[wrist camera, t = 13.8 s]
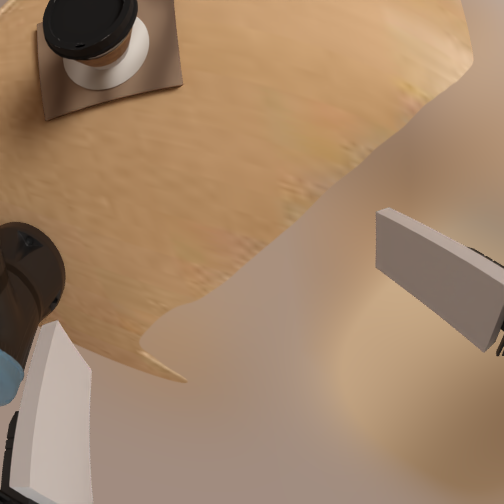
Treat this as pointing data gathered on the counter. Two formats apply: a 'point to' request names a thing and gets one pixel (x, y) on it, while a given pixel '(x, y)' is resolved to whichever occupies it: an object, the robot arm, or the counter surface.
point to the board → (120, 76)
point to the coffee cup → (90, 30)
